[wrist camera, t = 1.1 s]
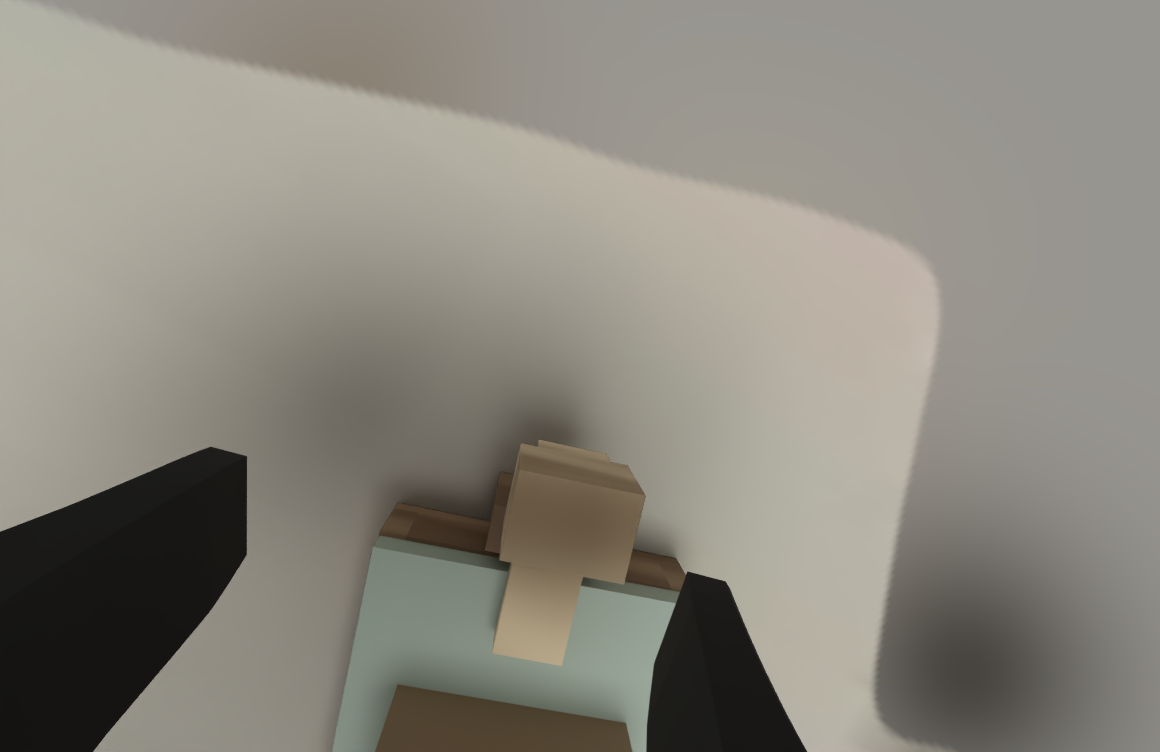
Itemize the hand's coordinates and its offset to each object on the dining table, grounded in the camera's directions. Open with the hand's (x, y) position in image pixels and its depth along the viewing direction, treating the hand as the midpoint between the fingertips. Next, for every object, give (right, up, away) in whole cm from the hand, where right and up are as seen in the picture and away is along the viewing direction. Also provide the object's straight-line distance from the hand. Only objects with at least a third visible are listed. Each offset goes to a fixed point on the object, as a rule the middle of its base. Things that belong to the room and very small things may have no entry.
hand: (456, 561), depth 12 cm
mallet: (+1, -2, +9) cm, 10 cm away
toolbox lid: (0, -8, +11) cm, 14 cm away
